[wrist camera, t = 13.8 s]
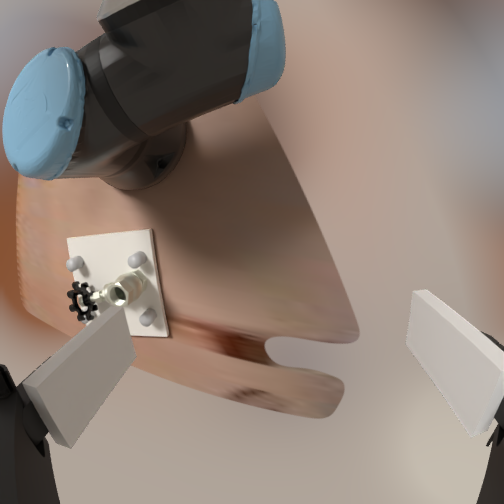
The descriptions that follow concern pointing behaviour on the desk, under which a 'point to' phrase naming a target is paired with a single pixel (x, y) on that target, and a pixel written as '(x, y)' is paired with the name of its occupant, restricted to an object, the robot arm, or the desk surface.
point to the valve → (108, 293)
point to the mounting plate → (115, 264)
